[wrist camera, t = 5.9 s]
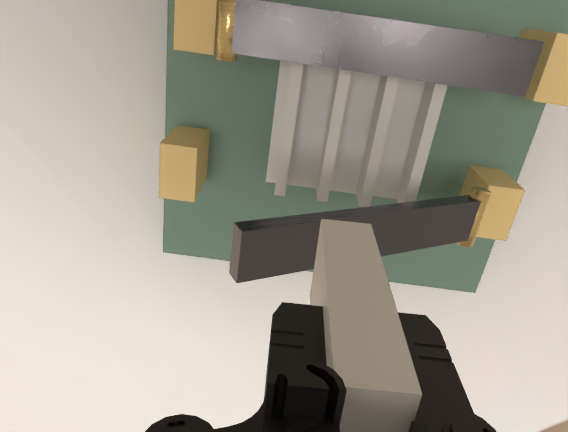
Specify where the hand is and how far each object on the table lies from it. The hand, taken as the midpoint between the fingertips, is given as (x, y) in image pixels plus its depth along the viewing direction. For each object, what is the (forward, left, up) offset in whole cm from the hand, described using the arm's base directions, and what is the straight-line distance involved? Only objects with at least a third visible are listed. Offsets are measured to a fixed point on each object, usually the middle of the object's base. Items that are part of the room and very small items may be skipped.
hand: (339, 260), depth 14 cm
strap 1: (-6, +1, -11) cm, 12 cm away
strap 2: (+2, +3, -8) cm, 9 cm away
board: (-2, +2, -17) cm, 17 cm away
